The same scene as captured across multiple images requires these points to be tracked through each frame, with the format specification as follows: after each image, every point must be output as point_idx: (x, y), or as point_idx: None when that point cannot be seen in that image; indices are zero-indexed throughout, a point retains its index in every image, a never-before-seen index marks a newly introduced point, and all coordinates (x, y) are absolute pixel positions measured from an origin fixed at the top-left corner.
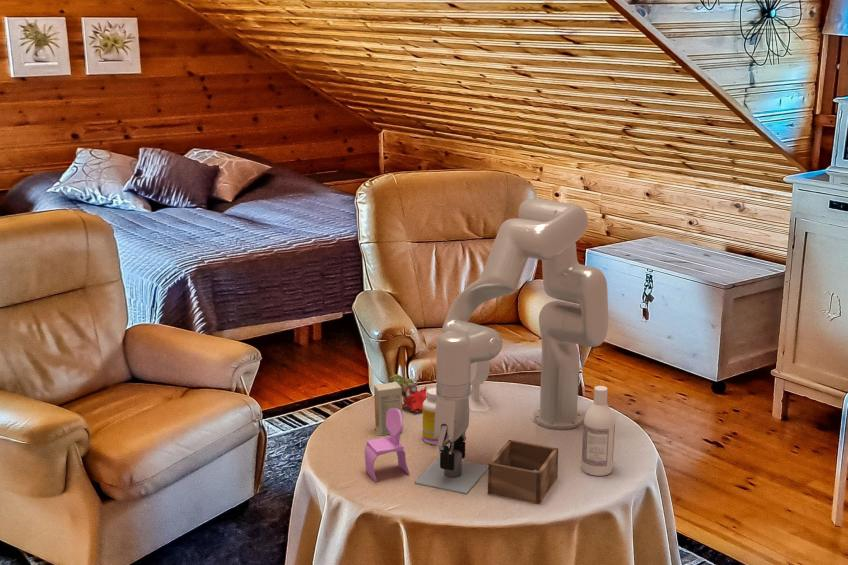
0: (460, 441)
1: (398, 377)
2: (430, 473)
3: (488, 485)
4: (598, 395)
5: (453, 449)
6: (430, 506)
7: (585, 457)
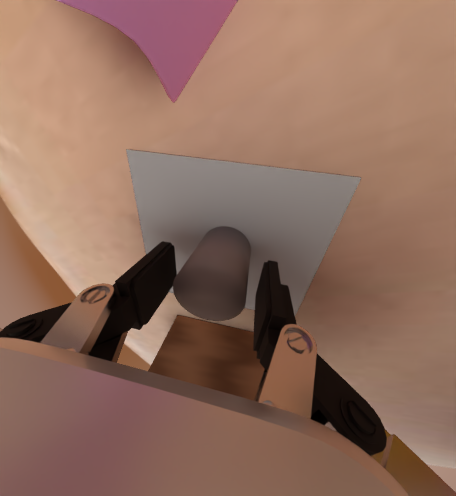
0: (261, 350)
1: None
2: (205, 184)
3: (170, 330)
4: None
5: (263, 287)
6: (70, 230)
7: None
